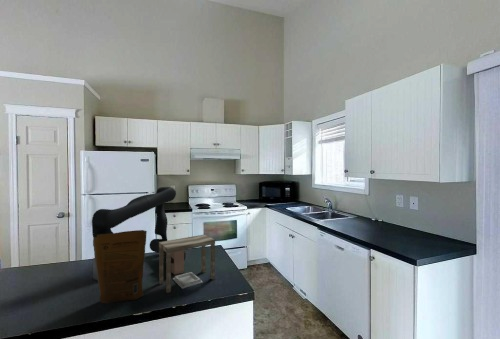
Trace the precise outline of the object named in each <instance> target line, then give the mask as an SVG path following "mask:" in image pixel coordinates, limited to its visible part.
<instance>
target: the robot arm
mask: <svg viewBox="0 0 500 339" xmlns="http://www.w3.org/2000/svg"><path fill="white" fill-rule="evenodd" d="M176 196H177V192H176V190H175V188H174V187H171V186H163V187H159V188H157V190H156V192H155V193H150V194H144V195H141V196H138V197H135V198H133V199H131V200H130V201H129V202H128V203H127V204H126V205H124V206H122V207H118V208H115V209H109V208H108V209H107V208H106V209H105V208H100V209H97V210H96V211H95V212H94V213H93V215H92V218H91V232H92V238H97V235H100V234H110V233H114V232H113V231H112V229H113V228H115V227H118V226H119V225H121V224H122V223H125V222H126V221H127V220H129V219H132V218H134V217H137V216H138V215H141V214H143V213H146V212H148V211H149V210H152V209H154V208H155V211H156V212H155V214H156V215H155V216H156V217H155V225H154V226H155V227H154V234H155V235H157V236H160V237H161V238H154V239H153V238H152V239H151V240H150V242H149V249H150V250H151V251H152V252H154V253H159V242H163V241H168V233H167V230H168V217H167V213H166V211H165V204H166V203H170V202H172V201H173V200H174V199H175V198H176ZM186 254H187V253H186V250H184V262H185V261H186ZM163 263H166V252H165V251H164V250H163ZM171 263H172V264H173V263H174V259H173V258H172V257H171ZM92 279H93V280H95V281H97V282H98V275H97V270H96V263H95V257H93V258H92Z"/></svg>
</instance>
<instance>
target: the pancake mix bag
mask: <svg viewBox="0 0 500 339" xmlns="http://www.w3.org/2000/svg"><path fill="white" fill-rule="evenodd" d="M147 232H148V231H147V230H145V229H137V230H126V231H119V232H113V233H110V234H100V235H97V238H93V237H92V238H93V239H92V247H93V253H94V254H93V256H94V258H95V263H96V270H97V275H98V281H97V282H98V287H99V291H100V292H99V293H100V295H99V300H98V301H99V302H100V303H103V304H113V303H119V302H128V301H135V300H138V299H139V298H141V297H143V296H144V295H145V294H144V291H143V290H144V289H143V277H144V264H145V259H146V258H145V257H146V244H147V234H148V233H147Z"/></svg>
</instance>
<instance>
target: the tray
mask: <svg viewBox="0 0 500 339" xmlns="http://www.w3.org/2000/svg"><path fill="white" fill-rule="evenodd" d="M172 280H173V281H174V282H175V283H176V284H177V285H178V286H179V287H180V288H181V289H186V288H190V287H193V286H196V285H200V284H202V283H204V281H203V280H202V279H201V278H200V277H199V276H197V275H196V274H195V273H194V272H192V271H190V272H186V273H183V274H182V273H181V274H177V275H174V277H173V278H172Z"/></svg>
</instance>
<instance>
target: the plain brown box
mask: <svg viewBox="0 0 500 339" xmlns="http://www.w3.org/2000/svg"><path fill="white" fill-rule="evenodd" d="M184 251H185V250H182V251H177V252H172V253H171V257H172V258H173V259H174V263H173V264H172V263H171V274H173V276H177V275H181V274H182V273H183V274H185V261H184Z"/></svg>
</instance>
